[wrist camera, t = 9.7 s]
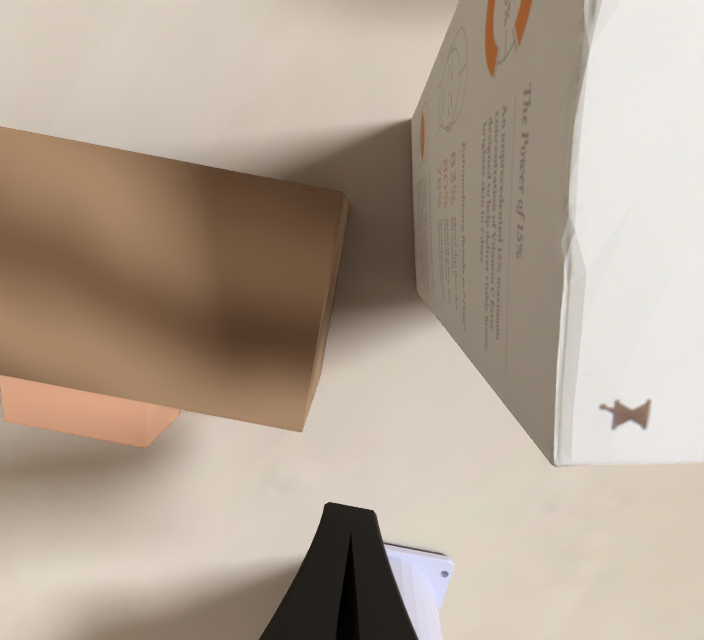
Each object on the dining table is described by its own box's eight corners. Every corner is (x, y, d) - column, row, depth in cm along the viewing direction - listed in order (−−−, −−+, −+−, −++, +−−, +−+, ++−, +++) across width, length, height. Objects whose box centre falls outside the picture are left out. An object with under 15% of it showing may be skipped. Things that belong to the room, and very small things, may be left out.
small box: (546, 286, 17) (1096, 468, 4) (414, 295, 17) (543, 484, 4) (559, 98, 15) (1755, -715, 2) (409, 113, 15) (620, -482, 2)
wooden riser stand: (320, 376, 18) (301, 432, 13) (-83, 299, 18) (-252, 326, 13) (350, 203, 16) (341, 191, 11) (-112, 114, 16) (-332, 62, 11)
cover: (179, 415, 19) (146, 448, 17) (58, 392, 19) (3, 421, 17) (187, 277, 17) (150, 287, 14) (51, 251, 17) (-13, 256, 14)
